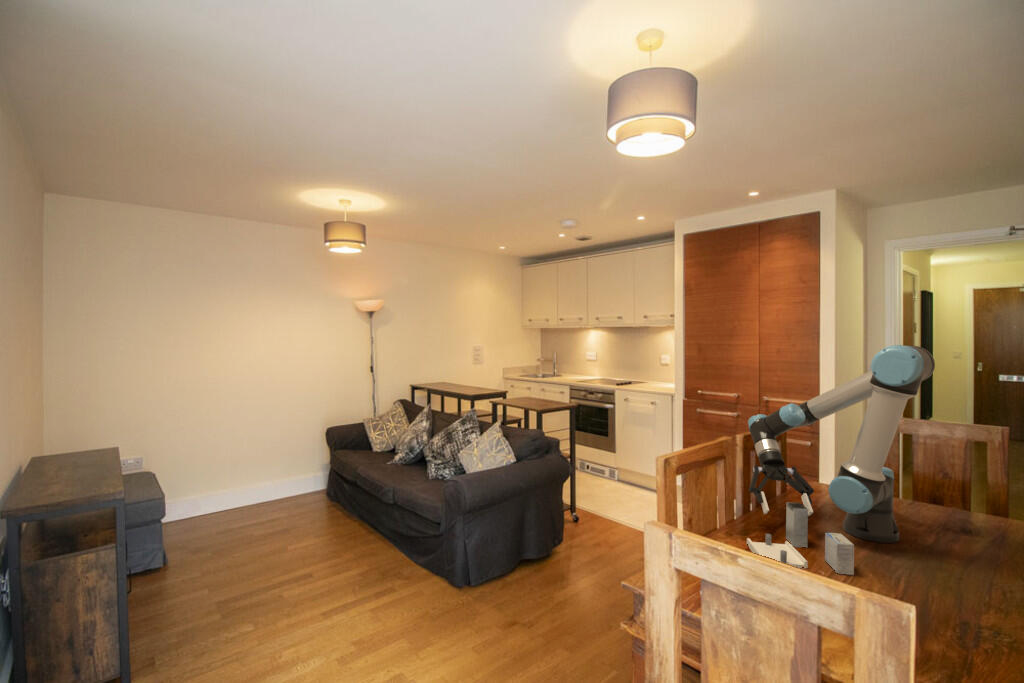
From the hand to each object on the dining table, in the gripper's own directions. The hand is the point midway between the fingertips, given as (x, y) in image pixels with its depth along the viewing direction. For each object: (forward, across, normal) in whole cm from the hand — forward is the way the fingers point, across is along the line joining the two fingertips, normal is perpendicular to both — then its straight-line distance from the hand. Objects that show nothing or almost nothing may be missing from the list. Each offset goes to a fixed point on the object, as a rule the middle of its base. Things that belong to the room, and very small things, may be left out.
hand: (788, 513), depth 159 cm
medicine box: (+20, -5, +8) cm, 22 cm away
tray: (+15, +10, +4) cm, 19 cm away
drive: (+8, -1, -4) cm, 9 cm away
